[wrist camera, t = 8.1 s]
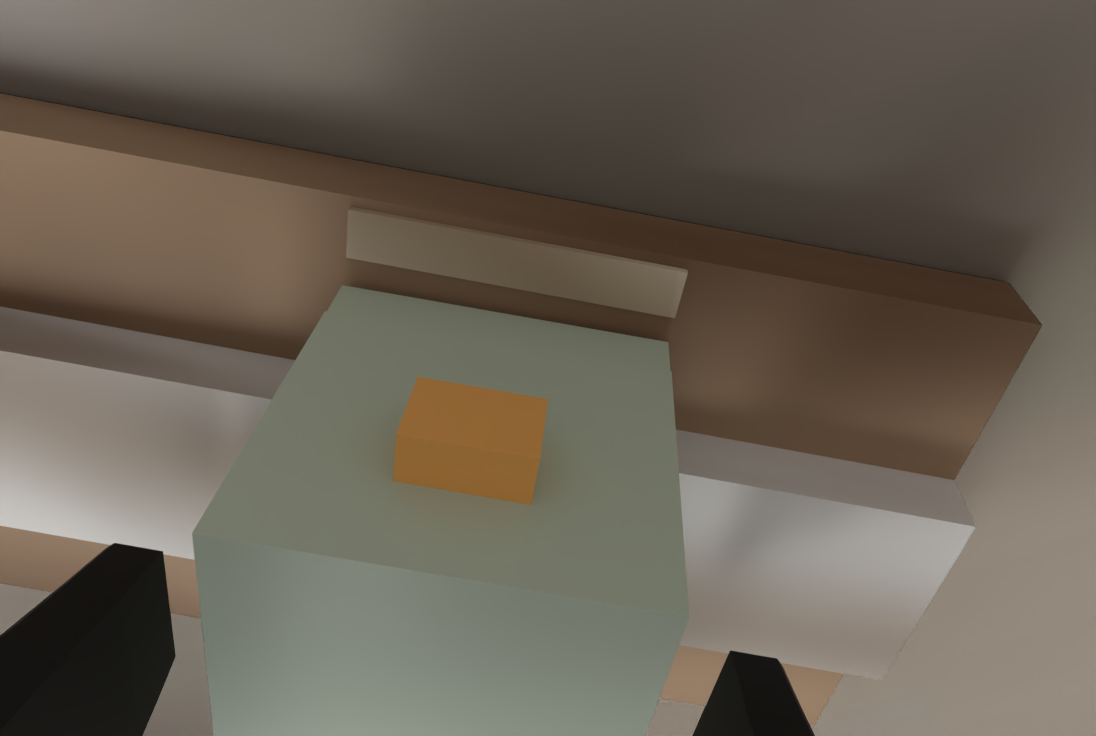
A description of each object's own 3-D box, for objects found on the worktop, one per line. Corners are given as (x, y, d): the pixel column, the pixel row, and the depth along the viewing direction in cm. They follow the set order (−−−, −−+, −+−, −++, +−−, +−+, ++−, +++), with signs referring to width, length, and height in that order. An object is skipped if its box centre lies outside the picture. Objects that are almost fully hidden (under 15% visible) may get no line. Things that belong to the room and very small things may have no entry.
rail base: (803, 672, 17) (877, 1039, 12) (-398, 460, 17) (-856, 754, 12) (1008, 283, 12) (1278, 627, 7) (-690, -37, 12) (-1716, 90, 7)
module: (581, 655, 16) (565, 952, 12) (334, 614, 15) (231, 898, 11) (679, 300, 11) (706, 571, 7) (343, 242, 11) (186, 482, 7)
